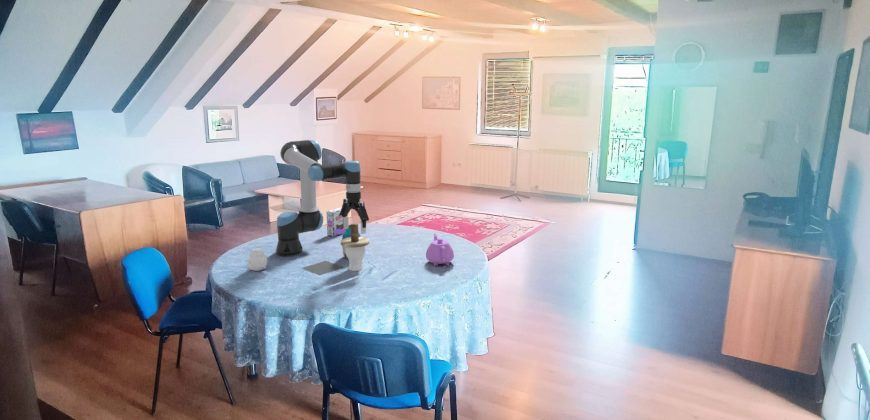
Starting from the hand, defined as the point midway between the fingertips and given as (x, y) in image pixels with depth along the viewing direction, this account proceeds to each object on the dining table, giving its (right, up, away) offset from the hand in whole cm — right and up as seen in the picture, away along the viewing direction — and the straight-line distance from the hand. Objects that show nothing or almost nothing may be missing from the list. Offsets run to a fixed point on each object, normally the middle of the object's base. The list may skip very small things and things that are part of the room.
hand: (354, 231), depth 279 cm
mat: (-18, -21, +6) cm, 28 cm away
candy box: (-22, -5, +72) cm, 76 cm away
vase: (-5, -17, +23) cm, 29 cm away
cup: (0, -21, +5) cm, 22 cm away
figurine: (-52, -21, +5) cm, 56 cm away
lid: (0, -6, +1) cm, 6 cm away
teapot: (+44, -18, +18) cm, 51 cm away
